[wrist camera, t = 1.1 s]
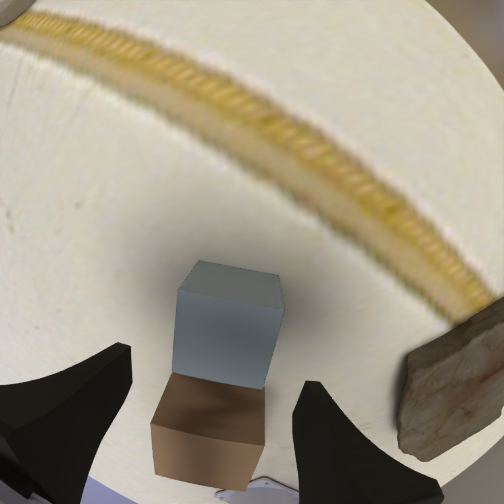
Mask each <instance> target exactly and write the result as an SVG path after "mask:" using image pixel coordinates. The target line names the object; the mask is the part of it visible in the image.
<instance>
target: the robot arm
mask: <svg viewBox="0 0 504 504" xmlns="http://www.w3.org/2000/svg"><path fill="white" fill-rule="evenodd" d="M132 382H133V381H132V363H131V346H129V345H126V344H122V343H119V342H117V343H115V344H113V345H111V346H110V347H108V348H106V349H104V350H103V351H101V352H99V353H97V354H95V355H93V356H92V357H90V358H88V359H86V360H84V361H82V362H80V363H78V364H76V365H74V366H72V367H69V368H67V369H65V370H63V371H60V372H58V373H55V374H52V375H49V376H46V377H43V378H40V379H36V380H31V381H27V382H23V383H17V384H9V385H0V504H80V501H81V497H82V493H83V490H84V487H85V483H86V480H87V477H88V474H89V471H90V468H91V465H92V463H93V460H94V457H95V455H96V452H97V450H98V448H99V445H100V443H101V441H102V439H103V437H104V435H105V434H106V432H107V430H108V429H109V427H110V425H111V424H112V422H113V420H114V418H115V417H116V415H117V413H118V412H119V410H120V408H121V407H122V405H123V403H124V401H125V399H126V397H127V395H128V392H129V390H130V387H131V385H132ZM292 435H293V442H294V449H295V456H296V463H297V470H298V479H299V492H297V491H295V490H292V489H290V488H288V487H285V486H283V485H281V484H279V483H276V482H274V481H272V480H270V479H268V478H260V479H257V480H255V481H252V482H249V484H248V487H247V489H246V491H245V492H242V491H234V490H225V491H221V492H218V493H215V497H217V498H219V499H221V500H224V501H226V502H228V503H230V504H441V503H442V501H443V499H444V495H443V493H442V490H441V488H440V486H439V483H438V481H437V480H436V479H433V478H431V477H428V476H426V475H423V474H421V473H419V472H416V471H414V470H412V469H411V468H409V467H407V466H405V465H403V464H401V463H400V462H398V461H397V460H395V459H393V458H392V457H391V456H389V455H388V454H386V453H385V452H383V451H382V450H381V449H379V448H378V447H377V446H376V445H375V444H373V443H372V442H371V441H370V440H369V439H368V438H367V437H366V436H364V435H363V434H362V433H361V432H360V431H359V430H358V428H357V427H356V426H355V425H354V424H353V423H352V422H351V421H350V420H349V419H348V417H347V416H346V415H345V414H344V413H343V411H342V410H341V409H340V408H339V406H338V405H337V404H336V403H335V401H334V400H333V399H332V397H331V396H330V395H329V393H328V392H327V391H326V389H325V388H324V386H323V385H322V384H321V383H320V382H318V381H307V380H306V381H305V384H304V386H303V389H302V391H301V394H300V396H299V399H298V401H297V404H296V406H295V409H294V411H293V414H292Z"/></svg>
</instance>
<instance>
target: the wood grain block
mask: <svg viewBox="0 0 504 504" xmlns="http://www.w3.org/2000/svg"><path fill="white" fill-rule="evenodd" d="M150 425H151V438H152V450H153V459H154V468H155V474H156V475H159V476H163V477H167V478H171V479H175V480H179V481H183V482H188V483H192V484H197V485H202V486H208V487H214V488H220V489H226V490H234V491H242V492H245V491H246V489H247V487H248V484H249V482H250V480H251V477H252V475H253V473H254V470H255V468H256V466H257V463H258V461H259V458H260V456H261V453H262V451H263V449H264V446H265V389H264V387H263V389H256V388H249V387H243V386H237V385H231V384H226V383H221V382H215V381H210V380H206V379H201V378H196V377H192V376H187V375H183V374H179V373H175V372H172V374H171V377H170V379H169V381H168V383H167V386H166V388H165V390H164V393H163V395H162V397H161V400H160V402H159V404H158V407H157V409H156V411H155V414H154V416H153V418H152V421H151V423H150Z"/></svg>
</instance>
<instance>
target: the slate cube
mask: <svg viewBox="0 0 504 504" xmlns="http://www.w3.org/2000/svg"><path fill="white" fill-rule="evenodd" d="M283 313H284V304H283V298H282V292H281V286H280V280H279V275H273V274H268V273H262V272H257V271H252V270H246V269H241V268H236V267H231V266H225V265H220V264H215V263H210V262H205V261H200V260H199V262H198V263H197V264H196V266H195V267H194V268H193V270H192V271H191V272H190V274H189V275H188V276H187V278H186V279H185V281H184V282H183V283H182V285H181V286H180V287H179V289H178V295H177V306H176V317H175V329H174V343H173V360H172V372H175V373H179V374H183V375H187V376H192V377H196V378H201V379H206V380H210V381H215V382H221V383H226V384H231V385H237V386H243V387H249V388H256V389H263V386H264V383H265V380H266V376H267V373H268V369H269V365H270V362H271V358H272V355H273V351H274V347H275V344H276V340H277V336H278V333H279V329H280V325H281V321H282V317H283Z"/></svg>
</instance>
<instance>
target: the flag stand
mask: <svg viewBox="0 0 504 504" xmlns="http://www.w3.org/2000/svg"><path fill="white" fill-rule="evenodd" d="M34 1H35V0H0V27H1V26H4V25H6V24H8V23H9V22H11V21H12V20H14V19H15V18H16V17H18V16H19V15H20V14H21V13H22V12H23V11H25V10H26V9H27V8H28V7H29V6H30V5H31V4H32V3H33V2H34Z"/></svg>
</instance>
